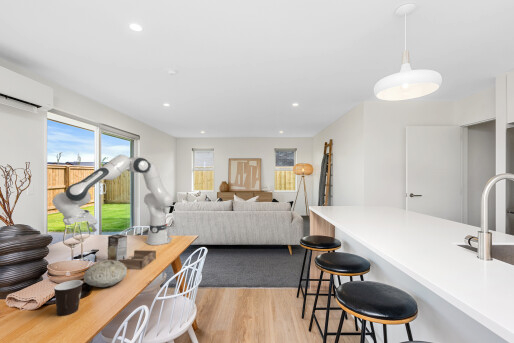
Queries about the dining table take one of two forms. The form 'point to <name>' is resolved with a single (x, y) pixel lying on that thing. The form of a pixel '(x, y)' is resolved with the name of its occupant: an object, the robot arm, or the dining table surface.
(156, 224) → the robot arm
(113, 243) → the coffee box
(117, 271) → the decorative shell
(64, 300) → the coffee mug
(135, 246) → the dining table surface
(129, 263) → the brown wooden tray
